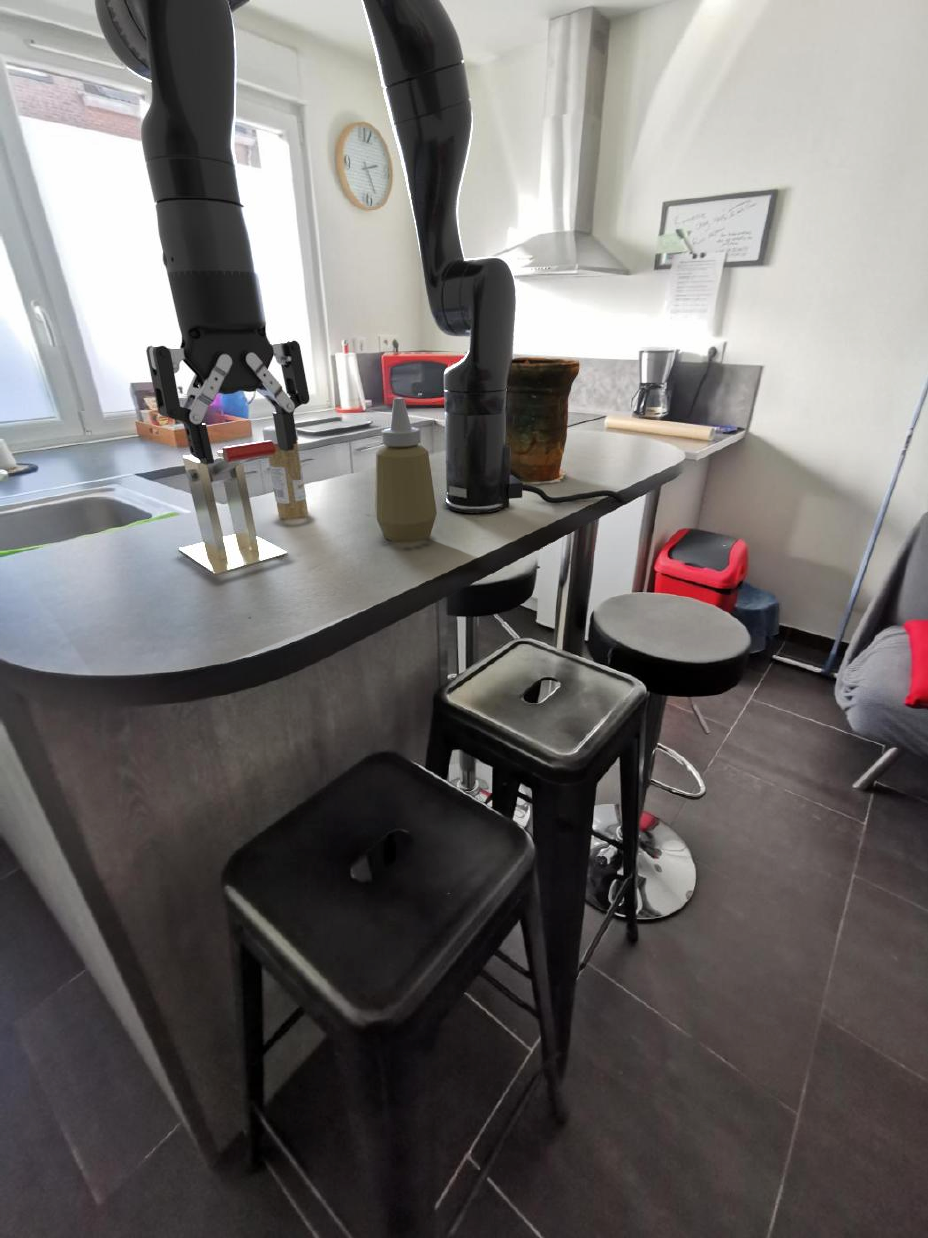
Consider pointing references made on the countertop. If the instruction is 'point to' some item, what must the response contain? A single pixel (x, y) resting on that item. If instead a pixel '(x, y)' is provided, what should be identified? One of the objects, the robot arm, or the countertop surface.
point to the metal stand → (215, 548)
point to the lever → (237, 459)
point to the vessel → (538, 417)
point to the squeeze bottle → (403, 481)
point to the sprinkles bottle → (286, 478)
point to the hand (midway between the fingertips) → (248, 456)
